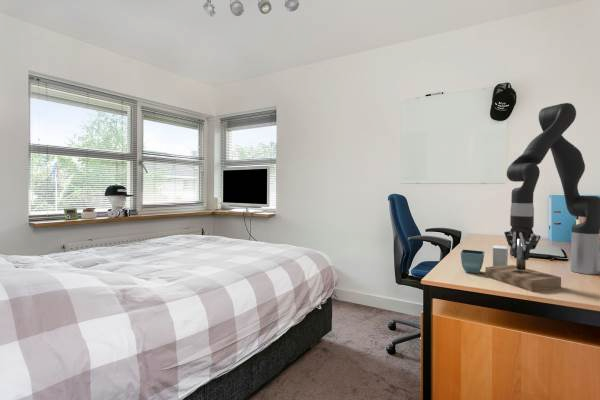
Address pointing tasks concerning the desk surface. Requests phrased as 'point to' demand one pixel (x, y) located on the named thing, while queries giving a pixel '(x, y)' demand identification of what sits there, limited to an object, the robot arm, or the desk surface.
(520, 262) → the peg
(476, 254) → the flower pot
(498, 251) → the small box
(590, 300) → the desk surface
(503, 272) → the hole block
